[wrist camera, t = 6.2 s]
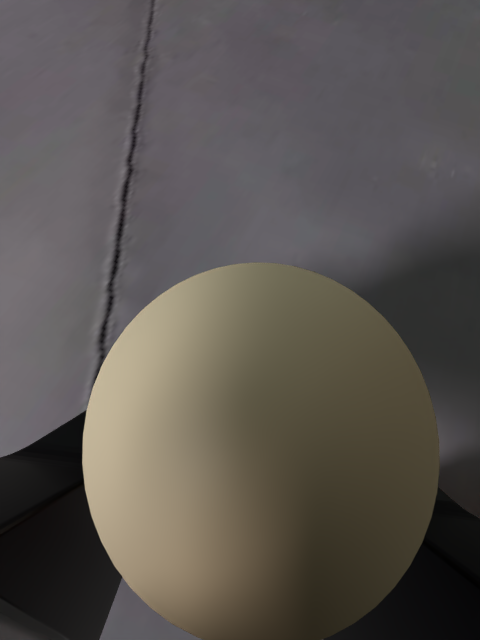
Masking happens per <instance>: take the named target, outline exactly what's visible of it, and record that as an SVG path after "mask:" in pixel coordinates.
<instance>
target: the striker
mask: <svg viewBox="0 0 480 640" xmlns="http://www.w3.org/2000/svg"><path fill="white" fill-rule="evenodd" d="M82 465H83V474H84V484H85V491H86V495H87V500H88V504H89V508H90V512H91V516H92V519H93V521H94V524H95V527H96V529H97V532H98V535H99V537H100V540H101V542H102V544H103V546H104V548H105V550H106V551H107V553H108V555H109V557H110V559H111V561H112V562H113V564H114V566H115V567H116V569H117V570H118V571H119V573H120V574H121V575H122V577H123V578H124V579H125V581H126V582H127V584H128V585H129V586H130V588H131V589H132V590H133V591H134V592H135V593H136V594H137V595H138V596H139V597H140V598H141V599H142V600H143V601H144V602H145V603H146V604H147V605H148V606H149V607H150V608H151V609H153V610H154V611H156V612H157V613H158V614H160V615H161V616H162V617H164V618H165V619H166V620H168V621H169V622H170V623H172V624H173V625H175V626H177V627H179V628H181V629H183V630H185V631H187V632H189V633H190V634H192V635H194V636H196V637H198V638H201V639H204V640H321V639H324V638H327V637H330V636H332V635H334V634H336V633H337V632H339V631H341V630H343V629H345V628H347V627H348V626H350V625H352V624H354V623H355V622H357V621H358V620H359V619H361V618H362V617H363V616H364V615H366V614H367V613H368V612H370V611H371V610H372V609H374V608H375V607H376V606H377V605H378V604H379V603H380V602H381V601H382V600H383V599H384V598H385V597H386V596H387V595H388V594H389V593H390V592H391V590H392V589H393V588H394V587H395V586H396V585H397V583H398V582H399V580H400V579H401V578H402V576H403V575H404V573H405V572H406V571H407V569H408V568H409V566H410V565H411V563H412V561H413V559H414V557H415V555H416V553H417V551H418V550H419V548H420V546H421V544H422V542H423V539H424V536H425V534H426V531H427V528H428V525H429V523H430V520H431V517H432V513H433V508H434V504H435V499H436V495H437V488H438V478H439V468H440V461H439V438H438V431H437V423H436V417H435V413H434V409H433V405H432V402H431V398H430V394H429V391H428V389H427V386H426V384H425V381H424V378H423V376H422V373H421V371H420V369H419V367H418V365H417V364H416V362H415V360H414V358H413V356H412V354H411V352H410V351H409V349H408V348H407V346H406V345H405V343H404V342H403V340H402V339H401V337H400V336H399V334H398V333H397V332H396V331H395V330H394V328H393V327H392V326H391V325H390V324H389V323H388V321H387V320H386V319H385V318H384V317H383V316H382V315H381V314H380V313H379V312H378V311H377V310H376V309H374V308H373V307H372V306H371V305H370V304H369V303H368V302H367V301H365V300H364V299H363V298H361V297H360V296H358V295H357V294H356V293H354V292H353V291H352V290H350V289H348V288H346V287H345V286H343V285H341V284H339V283H338V282H336V281H334V280H332V279H330V278H327V277H325V276H323V275H320V274H318V273H315V272H313V271H309V270H305V269H302V268H298V267H295V266H289V265H283V264H276V263H244V264H234V265H229V266H224V267H219V268H215V269H212V270H209V271H206V272H203V273H200V274H197V275H195V276H193V277H191V278H189V279H187V280H184V281H182V282H180V283H178V284H176V285H175V286H173V287H172V288H170V289H169V290H167V291H166V292H164V293H163V294H161V295H160V296H158V297H157V298H156V299H155V300H153V301H152V302H151V303H150V304H149V305H147V306H146V307H145V308H144V309H143V310H142V311H141V312H140V313H139V314H138V315H137V316H136V317H135V318H134V319H133V320H132V321H131V323H130V324H129V325H128V326H127V327H126V328H125V330H124V331H123V332H122V334H121V335H120V337H119V338H118V339H117V341H116V342H115V343H114V345H113V347H112V349H111V350H110V352H109V354H108V356H107V357H106V359H105V361H104V363H103V365H102V367H101V369H100V372H99V374H98V377H97V379H96V382H95V384H94V386H93V390H92V393H91V397H90V401H89V404H88V408H87V412H86V419H85V425H84V432H83V454H82Z"/></svg>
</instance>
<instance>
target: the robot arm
mask: <svg viewBox="0 0 480 640" xmlns="http://www.w3.org/2000/svg"><path fill="white" fill-rule="evenodd" d="M86 412H87V410H86V411H84V412H83V413H81V414H80V415H78V416H76V417H75V418H73V419H72V420H70V421H68V422H67V423H65V424H63V425H62V426H60V427H59V428H57V429H55V430H54V431H52V432H51V433H49V434H47V435H46V436H44V437H42V438H41V439H39V440H38V441H36V442H34V443H33V444H31V445H29V446H27V447H25V448H23V449H21V450H19V451H17V452H15V453H12V454H10V455H7V456H4V457H1V458H0V640H99V639H100V636H101V633H102V630H103V628H104V625H105V622H106V620H107V617H108V614H109V612H110V609H111V606H112V603H113V601H114V598H115V595H116V593H117V590H118V587H119V584H120V582H121V579H122V575H121V574H120V573H119V571H118V570H117V569H116V567H115V566H114V564H113V562H112V561H111V559H110V557H109V555H108V553H107V551H106V550H105V548H104V546H103V544H102V542H101V540H100V537H99V535H98V532H97V529H96V527H95V524H94V521H93V519H92V516H91V512H90V508H89V504H88V500H87V495H86V491H85V484H84V474H83V465H82V454H83V432H84V425H85V419H86ZM323 640H480V519H479V518H477V517H475V516H474V515H472V514H470V513H469V512H467V511H466V510H464V509H463V508H462V507H460V506H459V505H458V504H456V503H455V502H454V501H453V500H452V499H451V498H449V497H448V496H447V495H446V494H445V493H444V492H443V491H442V490H441V489H440V488H437V495H436V499H435V504H434V508H433V513H432V517H431V520H430V523H429V525H428V528H427V531H426V534H425V536H424V539H423V542H422V544H421V546H420V548H419V550H418V551H417V553H416V555H415V557H414V559H413V561H412V563H411V565H410V566H409V568H408V569H407V571H406V572H405V573H404V575H403V576H402V578H401V579H400V580H399V582H398V583H397V585H396V586H395V587H394V588H393V589H392V590H391V592H390V593H389V594H388V595H387V596H386V597H385V598H384V599H383V600H382V601H381V602H380V603H379V604H378V605H377V606H376V607H375V608H374V609H372V610H371V611H370V612H368V613H367V614H366V615H364V616H363V617H362V618H361V619H359V620H358V621H357V622H355V623H354V624H352V625H350V626H348V627H347V628H345V629H343V630H341V631H339V632H337V633H336V634H334V635H332V636H330V637H327V638H324V639H323Z"/></svg>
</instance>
